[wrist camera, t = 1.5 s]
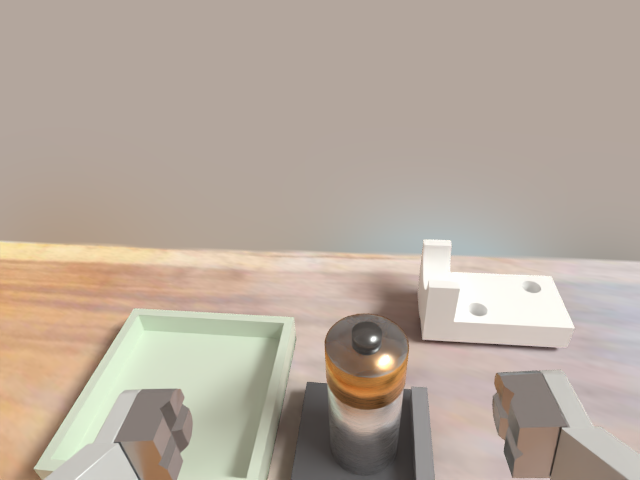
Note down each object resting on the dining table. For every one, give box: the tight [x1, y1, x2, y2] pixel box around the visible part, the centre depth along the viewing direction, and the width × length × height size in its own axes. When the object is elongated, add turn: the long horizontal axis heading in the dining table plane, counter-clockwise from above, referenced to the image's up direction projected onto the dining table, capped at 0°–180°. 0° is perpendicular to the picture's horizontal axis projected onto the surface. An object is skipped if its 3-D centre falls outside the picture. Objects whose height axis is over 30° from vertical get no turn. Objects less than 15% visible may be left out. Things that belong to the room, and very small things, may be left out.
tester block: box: [291, 382, 435, 480], centre depth 34 cm, size 10×10×3 cm
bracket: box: [417, 240, 575, 348], centre depth 44 cm, size 13×7×8 cm, turn 83°
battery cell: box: [325, 314, 409, 476], centre depth 31 cm, size 5×5×12 cm
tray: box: [34, 308, 296, 480], centre depth 38 cm, size 16×16×3 cm
